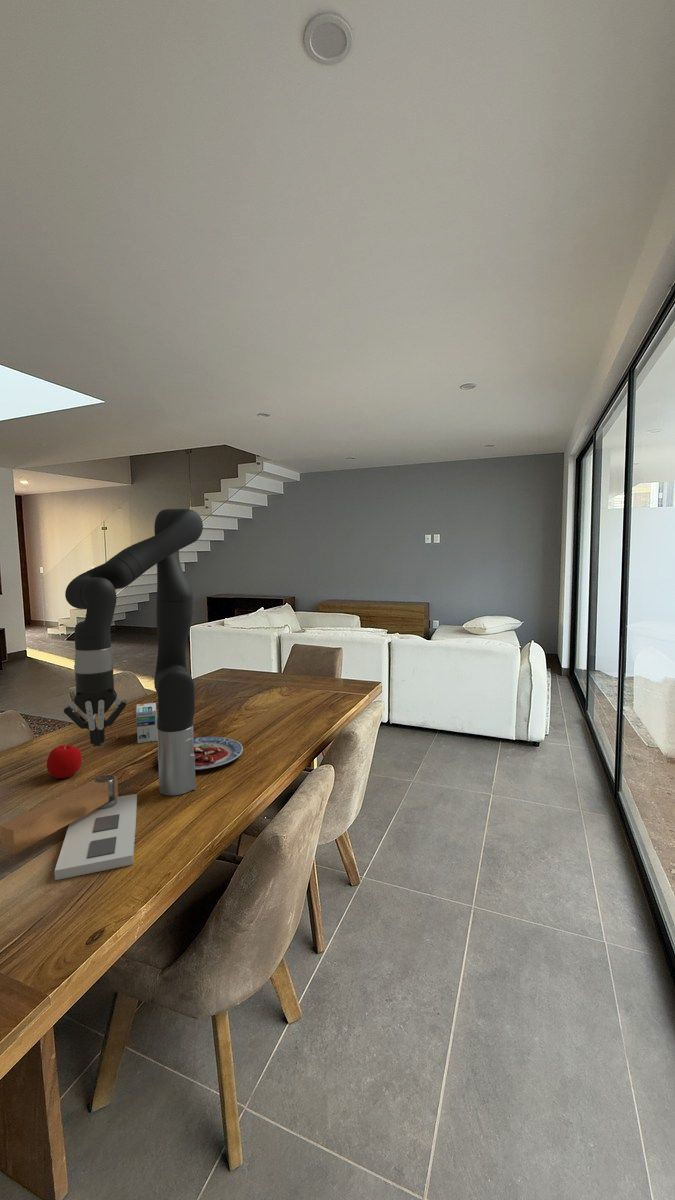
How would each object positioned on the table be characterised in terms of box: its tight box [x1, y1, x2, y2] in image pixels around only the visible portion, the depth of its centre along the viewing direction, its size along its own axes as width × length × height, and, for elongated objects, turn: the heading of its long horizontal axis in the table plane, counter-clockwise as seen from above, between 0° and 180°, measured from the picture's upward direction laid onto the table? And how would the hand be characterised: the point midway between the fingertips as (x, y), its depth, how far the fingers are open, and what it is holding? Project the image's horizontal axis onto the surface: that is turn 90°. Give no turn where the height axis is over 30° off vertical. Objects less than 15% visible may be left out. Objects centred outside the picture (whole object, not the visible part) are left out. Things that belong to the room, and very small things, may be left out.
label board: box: [54, 793, 138, 881], centre depth 111 cm, size 14×28×3 cm, turn 21°
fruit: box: [46, 740, 83, 779], centre depth 141 cm, size 9×9×10 cm
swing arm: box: [0, 773, 119, 855], centre depth 110 cm, size 4×26×5 cm, turn 157°
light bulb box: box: [135, 702, 158, 744], centre depth 171 cm, size 11×7×11 cm, turn 22°
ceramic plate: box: [194, 736, 244, 771], centre depth 154 cm, size 26×26×3 cm
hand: (97, 744), depth 109 cm, fingers closed
